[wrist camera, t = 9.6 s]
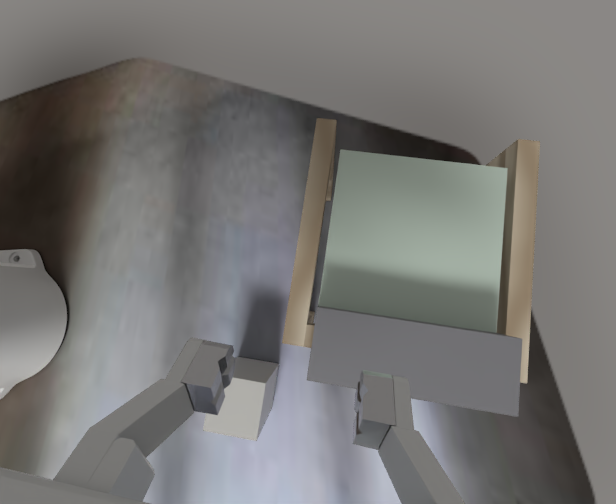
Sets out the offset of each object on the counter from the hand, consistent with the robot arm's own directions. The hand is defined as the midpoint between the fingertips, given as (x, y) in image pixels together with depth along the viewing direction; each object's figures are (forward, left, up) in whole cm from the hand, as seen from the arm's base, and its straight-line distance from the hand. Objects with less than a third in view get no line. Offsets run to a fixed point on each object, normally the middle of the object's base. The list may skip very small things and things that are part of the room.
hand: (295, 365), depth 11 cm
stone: (-6, -9, -26) cm, 28 cm away
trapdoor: (+6, +5, -11) cm, 14 cm away
